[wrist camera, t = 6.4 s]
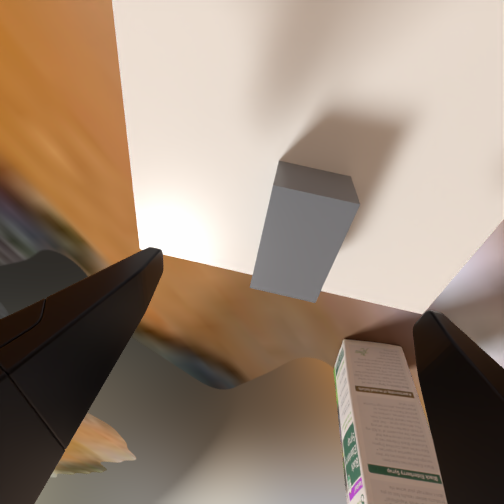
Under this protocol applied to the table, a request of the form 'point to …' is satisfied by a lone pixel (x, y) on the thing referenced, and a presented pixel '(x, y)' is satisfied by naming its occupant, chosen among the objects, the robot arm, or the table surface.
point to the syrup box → (383, 428)
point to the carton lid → (317, 139)
